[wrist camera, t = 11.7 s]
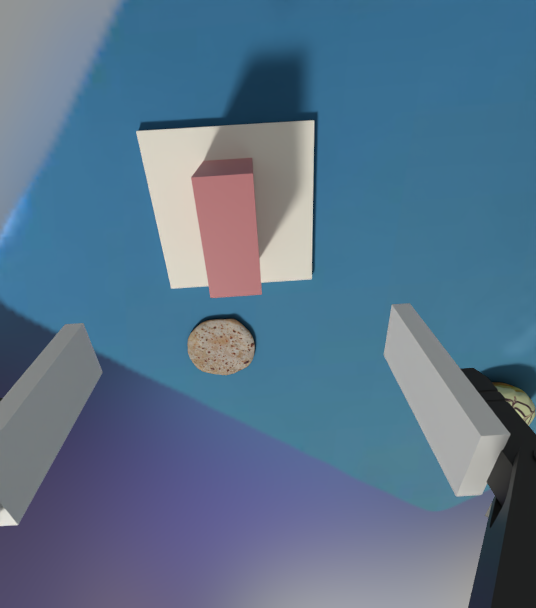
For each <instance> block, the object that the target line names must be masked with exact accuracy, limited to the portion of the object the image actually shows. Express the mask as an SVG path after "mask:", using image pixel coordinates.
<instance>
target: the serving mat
mask: <svg viewBox="0 0 536 608" xmlns="http://www.w3.org/2000/svg"><path fill="white" fill-rule="evenodd" d="M136 133H137V137H138V142H139V146H140V151H141V155H142V160H143V164H144V168H145V173H146V177H147V182H148V186H149V191H150V195H151V200H152V204H153V209H154V213H155V218H156V222H157V227H158V231H159V235H160V240H161V244H162V249H163V253H164V258H165V262H166V267H167V271H168V276H169V280H170V285H171V289H172V288H187V287H202V286H209V285H208V278H207V272H206V266H205V260H204V254H203V248H202V242H201V236H200V229H199V223H198V217H197V211H196V205H195V199H194V193H193V186H192V180H191V177H192V176H193V174H194V173H195V172H196V170H197V169H198V168H199V166H200V165H201V164H202V162H203V161H209V160H224V159H239V158H252V162H253V176H254V190H255V204H256V217H257V231H258V245H259V259H260V274H261V283H262V282H277V281H292V280H307V279H312V231H313V172H314V120H306V121H290V122H273V123H257V124H240V125H224V126H207V127H191V128H174V129H158V130H141V131H136Z"/></svg>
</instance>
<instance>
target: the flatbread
mask: <svg viewBox="0 0 536 608" xmlns="http://www.w3.org/2000/svg"><path fill="white" fill-rule="evenodd" d="M254 350H255V345H254V339H253V337H252V335H251V333H250V332H249V331H248V329H247V328H245V327H244V326H243V325H242V324H241V323H240V322H239V321H237V320H235V319H214V320H208V321H204V322H202V323H201V324H199V325H198V326H197V327H196V328H195V329H194V330H193V331H192V332H191V334H190V336H189V338H188V354H189V357H190V358H191V360H192V362H193V363H194V364H195V366H196V367H197V368H198V369H200V370H201V371H203V372H208V373H212V374H221V375H229V374H233V373H235V372H238V371H240V370H242V369H244V368H246V367H247V366H248V365H249V364H250V363H251V361H252V359H253V356H254Z"/></svg>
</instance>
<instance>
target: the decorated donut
mask: <svg viewBox="0 0 536 608" xmlns="http://www.w3.org/2000/svg"><path fill="white" fill-rule="evenodd" d="M493 384H494V386H495V387H496V388H497V389H498V392H500V393H501V394H502V395H503V396H504V397H505V399H506V402H509V403H510V405H511V406H512V407H513V408H514V409H515V410H516V412H517V413H518V414H519V415H520V416H521V418H522V419H523V420H524V421H525V422H526V423H527V425H528V426H529V424H530V423H531V422H532V420H533V419H534V417H535V405H534V404H533V402H532V400H531V399H530V398H529V397H528V396H527V394H526V393H525V392H524V391H523V390H521V389H519V388H517V387H514V386H512V385H509V384H506V383H501V382H493Z"/></svg>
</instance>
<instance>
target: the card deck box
mask: <svg viewBox="0 0 536 608" xmlns="http://www.w3.org/2000/svg"><path fill="white" fill-rule="evenodd" d="M191 180H192V186H193V193H194V199H195V205H196V211H197V217H198V223H199V229H200V236H201V242H202V248H203V254H204V260H205V266H206V272H207V278H208V285H209V291H210V297H211V298H218V297H232V296H247V295H261V294H262V290H261V274H260V259H259V245H258V231H257V217H256V204H255V190H254V176H253V162H252V158H239V159H224V160H209V161H203V162H202V164H201V165H200V166H199V168H198V169H197V170H196V172H195V173H194V174H193V176H192V177H191Z"/></svg>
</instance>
